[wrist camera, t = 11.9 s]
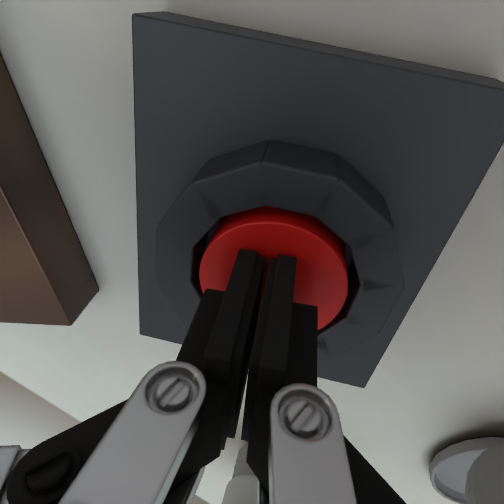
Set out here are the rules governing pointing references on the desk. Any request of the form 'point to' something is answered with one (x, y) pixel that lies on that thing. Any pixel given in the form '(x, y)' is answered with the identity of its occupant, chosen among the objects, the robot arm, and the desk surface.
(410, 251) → the switch box
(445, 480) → the pocket watch
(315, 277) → the light button
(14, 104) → the dimmer panel
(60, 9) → the desk surface
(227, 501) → the lightbulb
